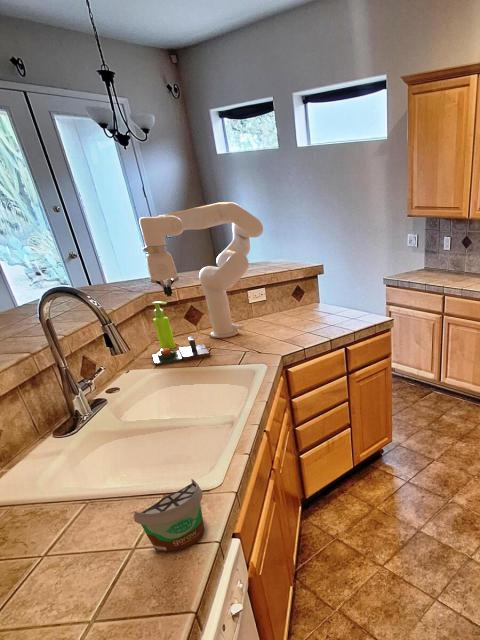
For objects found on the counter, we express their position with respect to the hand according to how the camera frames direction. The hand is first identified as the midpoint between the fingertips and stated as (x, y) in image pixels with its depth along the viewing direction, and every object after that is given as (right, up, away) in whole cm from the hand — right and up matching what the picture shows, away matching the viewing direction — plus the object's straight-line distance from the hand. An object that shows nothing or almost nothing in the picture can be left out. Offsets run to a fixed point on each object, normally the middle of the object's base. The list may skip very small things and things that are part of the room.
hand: (169, 296), depth 183 cm
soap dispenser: (-4, -21, +9) cm, 23 cm away
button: (+3, -26, -7) cm, 27 cm away
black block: (+12, -24, -2) cm, 26 cm away
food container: (+58, -77, -101) cm, 140 cm away
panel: (+12, -25, -1) cm, 28 cm away
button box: (+3, -28, -6) cm, 29 cm away
